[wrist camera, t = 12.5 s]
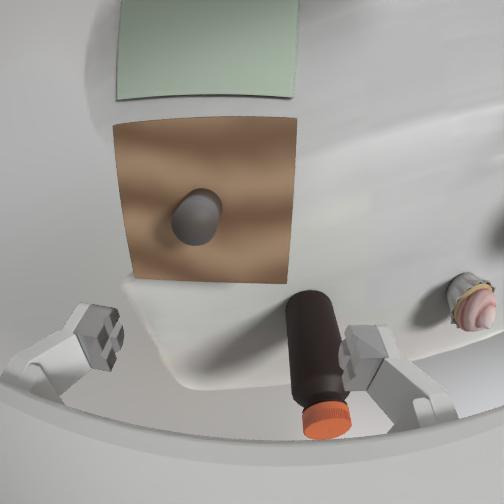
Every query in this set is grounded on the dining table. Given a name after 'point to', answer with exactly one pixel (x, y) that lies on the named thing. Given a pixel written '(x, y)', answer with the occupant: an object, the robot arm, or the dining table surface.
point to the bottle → (316, 365)
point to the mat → (207, 47)
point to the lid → (208, 197)
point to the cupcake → (471, 302)
